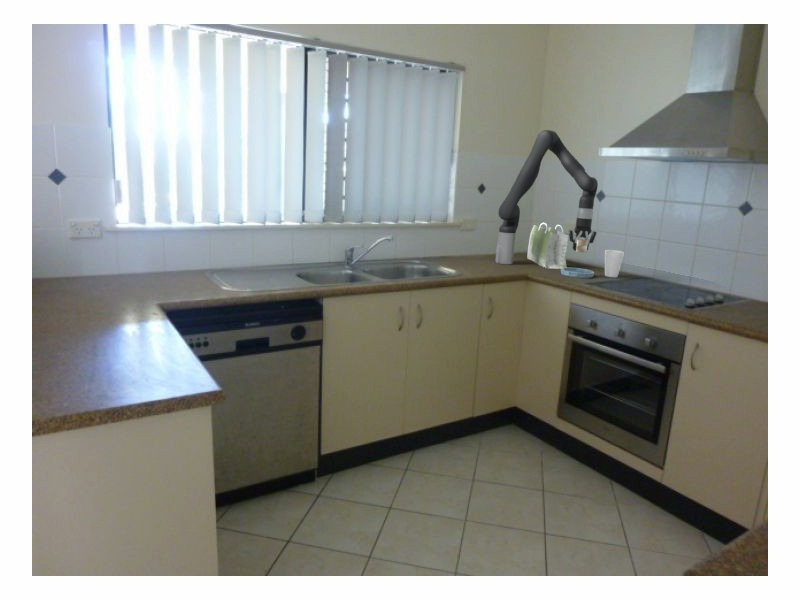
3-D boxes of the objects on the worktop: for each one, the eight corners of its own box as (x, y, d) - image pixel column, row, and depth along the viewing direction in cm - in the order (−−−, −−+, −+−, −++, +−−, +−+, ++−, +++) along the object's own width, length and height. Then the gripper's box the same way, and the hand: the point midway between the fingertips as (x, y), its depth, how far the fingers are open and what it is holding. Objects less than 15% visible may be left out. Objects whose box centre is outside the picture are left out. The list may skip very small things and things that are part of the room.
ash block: (576, 252, 287) (578, 240, 286) (573, 250, 292) (575, 239, 291) (586, 252, 287) (588, 240, 286) (583, 251, 292) (584, 239, 291)
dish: (566, 277, 285) (566, 272, 284) (557, 271, 300) (557, 266, 300) (597, 278, 285) (598, 274, 284) (587, 273, 301) (587, 268, 300)
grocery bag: (569, 269, 310) (574, 226, 304) (544, 268, 308) (550, 225, 303) (548, 259, 341) (552, 220, 335) (525, 258, 339) (530, 219, 333)
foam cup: (603, 273, 302) (607, 249, 299) (622, 276, 298) (625, 251, 295) (599, 275, 294) (603, 251, 291) (618, 278, 290) (622, 253, 287)
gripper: (572, 217, 282) (568, 251, 286) (601, 218, 282) (596, 252, 286) (568, 215, 289) (564, 249, 293) (596, 217, 289) (591, 250, 293)
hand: (580, 250), depth 290 cm, fingers closed on ash block, 5 cm apart
